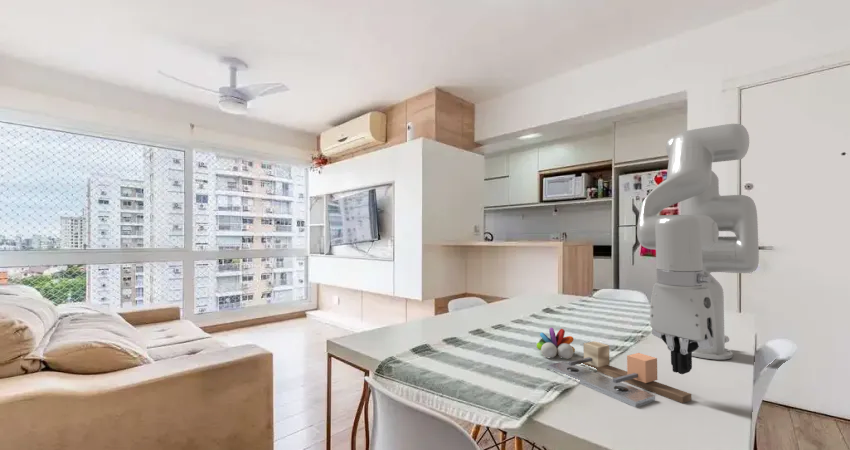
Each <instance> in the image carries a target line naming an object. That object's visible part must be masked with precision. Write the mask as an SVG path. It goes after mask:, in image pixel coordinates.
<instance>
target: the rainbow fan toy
mask: <svg viewBox="0 0 850 450" xmlns="http://www.w3.org/2000/svg"><path fill="white" fill-rule="evenodd" d="M548 331H549V337H548V336H547V334H545V333H544V332H540V333H539V337H540V339H539V340H538V342H537V343H536V348H537V349H538V350H539V351H541V354H542V355H543V357H545V358H546V357H553V358H555V357H556V356H557V355H558V357H559V358H561V357H562V358H561V359H563V358H569V359H571V358H572V357H573V355H574V353H575V351H576V349H575V347H573V346H572V345H571V344H572V342H574V337H573V336H571V335H569V336H565V332H566V331H565V329H564V328H560V329H559V330H558V331H557V334H556V333H555V330H554V328H553V327H549V329H548Z"/></svg>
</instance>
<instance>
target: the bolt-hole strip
mask: <svg viewBox="0 0 850 450" xmlns="http://www.w3.org/2000/svg"><path fill="white" fill-rule="evenodd" d="M568 362H569V361H565V360H563V361H560V362H559V361H558V362H555V363H549V364H546V368H547V367H548V368H550V369H553V370H555V371H558V372H560V373H563V374H566V375H568V376H570V377H573V378H575V379H578V380H580V383H579V384H580V385H582V386H585V387H588V388H589V389H592V390H595V391H597V392H598V393H600V394H601V393H602V394H604V395H606V396H609V397H611V398H613V399H616V400H617V401H620V402H623V403H624V404H627V405H629V406H631V407H634V408H638V407H642V406H645V405H647V404H650V403H653V402H656V395H655V394H652V393H649V392H647V391H644V390H642V389H639V388H638V387H635V386H633V385H630V384H626V383H623V382H619V383H614V382H613V378H612V377H608V376H605V375H604V374H603V375H602V374H600V373H599V372H596V371H595V372H594V371H593V370H591V369H590V370H589V369H588V368H584V367H583V366H582V367H581V366H579V365H578V364H577V365H572V366H570V365H568Z"/></svg>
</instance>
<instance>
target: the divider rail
mask: <svg viewBox="0 0 850 450" xmlns="http://www.w3.org/2000/svg"><path fill="white" fill-rule="evenodd" d="M567 362H568V365H570V366H572V365H577V366H578V365H579V364H581V363H583V364H585V365H588V366H591V367H594V368H596V369H597V371H596V372H597V373H601V374H603V375H606V376H607V377H608V376H609V377H610V378H617V377H621V376H624V375H627V370H623V369H621V368H619V367H616V366H612V365H610V345H609V344H605V343H603V342H598V341H596V340H594V341H590V342H588V341H587V342H584V343H583V357H582V358H579V359H575V360H569V361H567ZM623 382H625V383H628V384H629V385H631V386H634V387H635V386H636V387H637V388H641V389H643V390H646V391H649V392H652V393H654V394H656V395H659V396H662V397H664V398H667V399H669V400H673V401H676V402H677V403H681V404H685V403H687V402H690V401H692V393H690V392H687V391H684V390H681V389H678V388H675V387H672V386H669V385H667V384H664V383H661V382H658V381H657V380H655V381H652V382H648V383H644V382H641V381H638V380H635V379H630V380H626V381H623Z"/></svg>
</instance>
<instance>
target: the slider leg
mask: <svg viewBox="0 0 850 450" xmlns="http://www.w3.org/2000/svg"><path fill="white" fill-rule="evenodd" d="M626 367H627V368H626V369H627V370H626V371H627V375H624V376H621V377H617V378H614V377H612V379H613V382H614V383H619V382H621V383H623V382H624V381H626V380H630V379H635V380H638V381H641V382H644V383H648V382H652V381H657V380H658V358H657V357H654V356H652V355H648V354H644V353H640V352H636V353H633V354H628V355H626Z"/></svg>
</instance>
